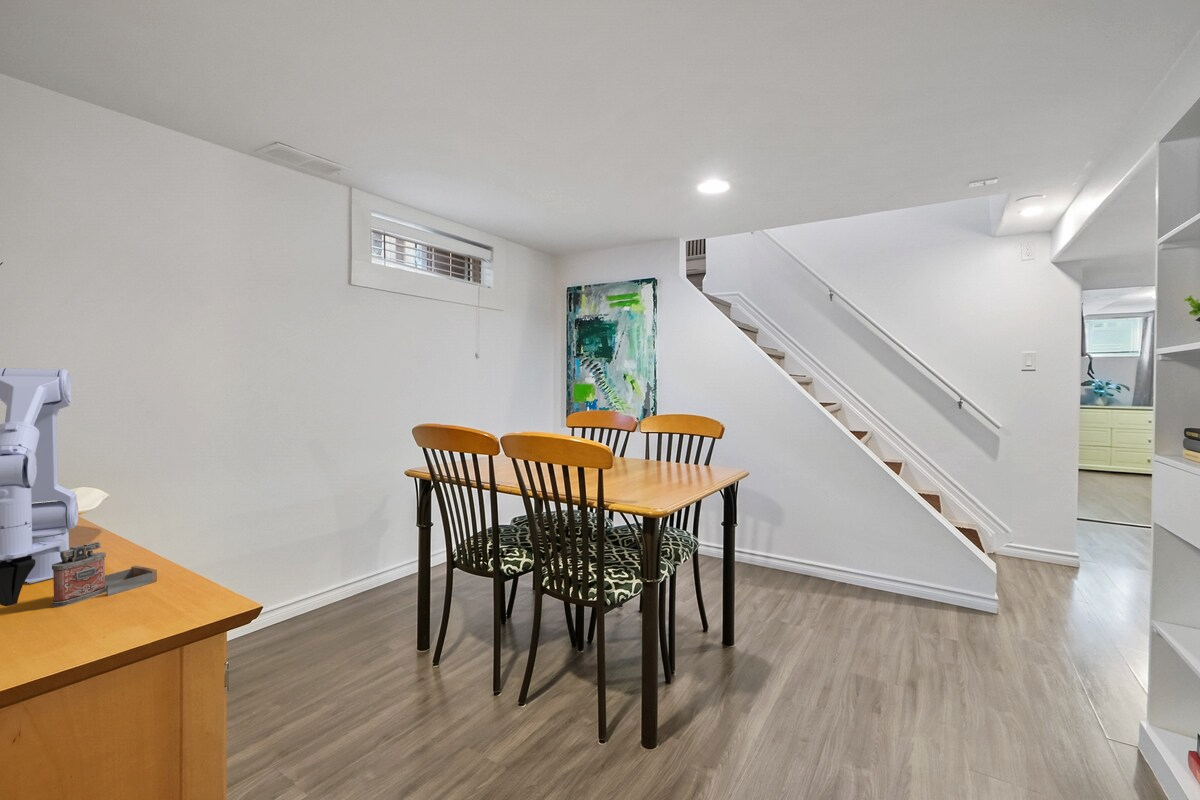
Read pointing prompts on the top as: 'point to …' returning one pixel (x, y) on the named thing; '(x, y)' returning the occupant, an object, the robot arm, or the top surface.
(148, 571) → the keeper
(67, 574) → the lighter
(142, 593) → the top surface
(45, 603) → the top surface
